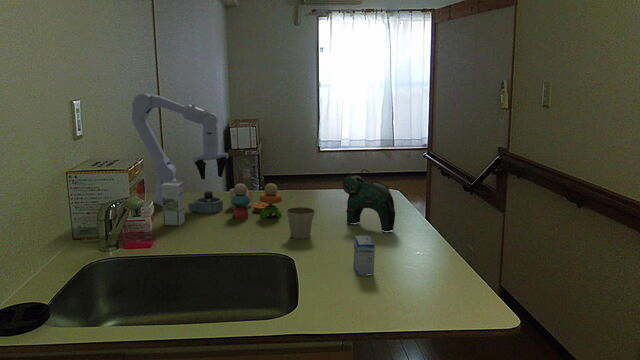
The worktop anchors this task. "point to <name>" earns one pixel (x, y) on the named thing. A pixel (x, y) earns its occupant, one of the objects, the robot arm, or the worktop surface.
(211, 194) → the plunger
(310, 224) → the flower pot
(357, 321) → the worktop surface
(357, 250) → the medicine box
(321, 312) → the worktop surface
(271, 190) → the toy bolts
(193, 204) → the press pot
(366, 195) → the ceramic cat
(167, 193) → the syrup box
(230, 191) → the beige rounded domed part
